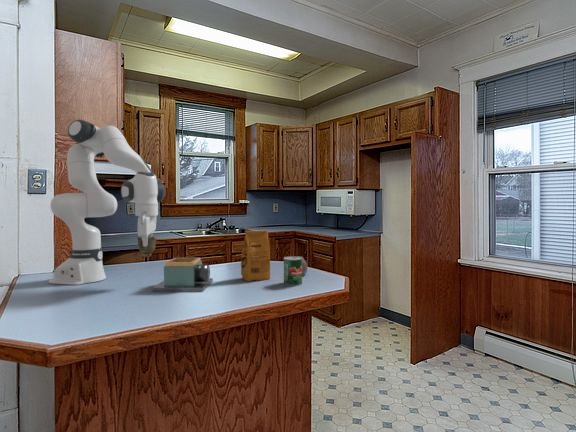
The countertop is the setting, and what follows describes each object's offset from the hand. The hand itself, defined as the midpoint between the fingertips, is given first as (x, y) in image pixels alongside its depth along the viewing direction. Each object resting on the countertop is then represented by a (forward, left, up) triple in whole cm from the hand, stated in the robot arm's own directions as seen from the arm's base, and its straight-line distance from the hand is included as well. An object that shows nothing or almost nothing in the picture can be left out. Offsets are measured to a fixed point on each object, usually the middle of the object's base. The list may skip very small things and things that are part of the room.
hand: (147, 244), depth 149 cm
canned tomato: (+60, +4, -18) cm, 63 cm away
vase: (+63, +20, -18) cm, 69 cm away
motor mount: (+15, -1, -17) cm, 23 cm away
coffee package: (+43, +13, -18) cm, 49 cm away
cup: (0, 0, -5) cm, 5 cm away
